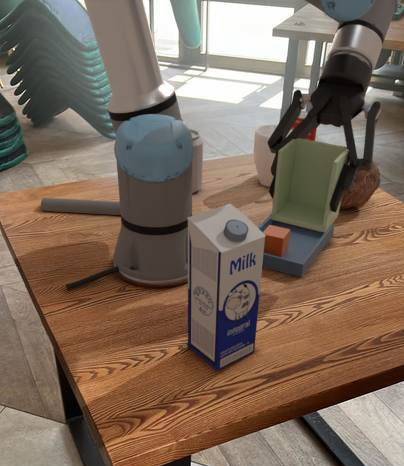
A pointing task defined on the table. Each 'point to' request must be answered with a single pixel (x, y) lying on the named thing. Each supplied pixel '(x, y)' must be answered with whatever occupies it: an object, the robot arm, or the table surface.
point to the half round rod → (81, 206)
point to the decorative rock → (361, 188)
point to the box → (307, 183)
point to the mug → (264, 153)
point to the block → (276, 240)
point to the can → (197, 161)
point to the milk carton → (223, 284)
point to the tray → (296, 248)
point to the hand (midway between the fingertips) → (302, 201)
